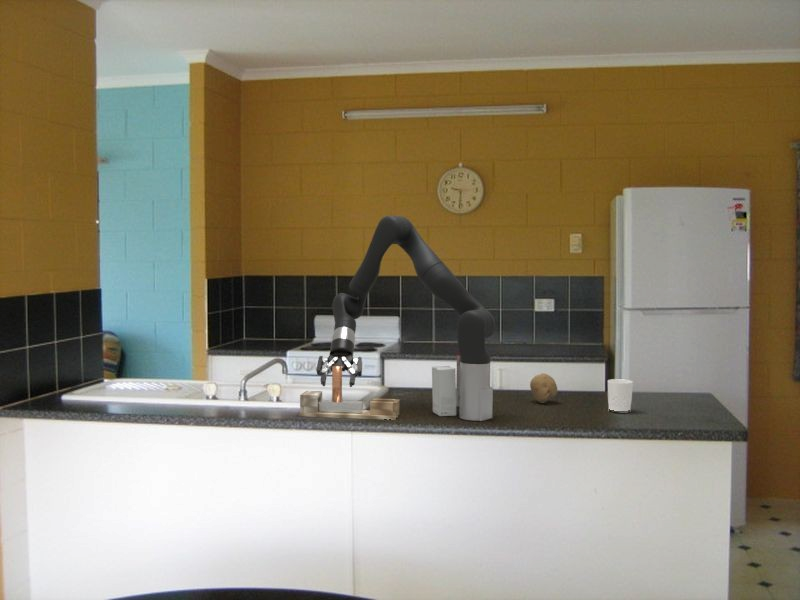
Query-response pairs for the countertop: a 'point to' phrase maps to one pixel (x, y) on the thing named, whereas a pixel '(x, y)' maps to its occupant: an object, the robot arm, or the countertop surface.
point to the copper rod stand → (339, 397)
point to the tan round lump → (543, 387)
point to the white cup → (620, 394)
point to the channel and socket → (377, 411)
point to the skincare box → (444, 390)
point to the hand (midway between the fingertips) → (337, 385)
